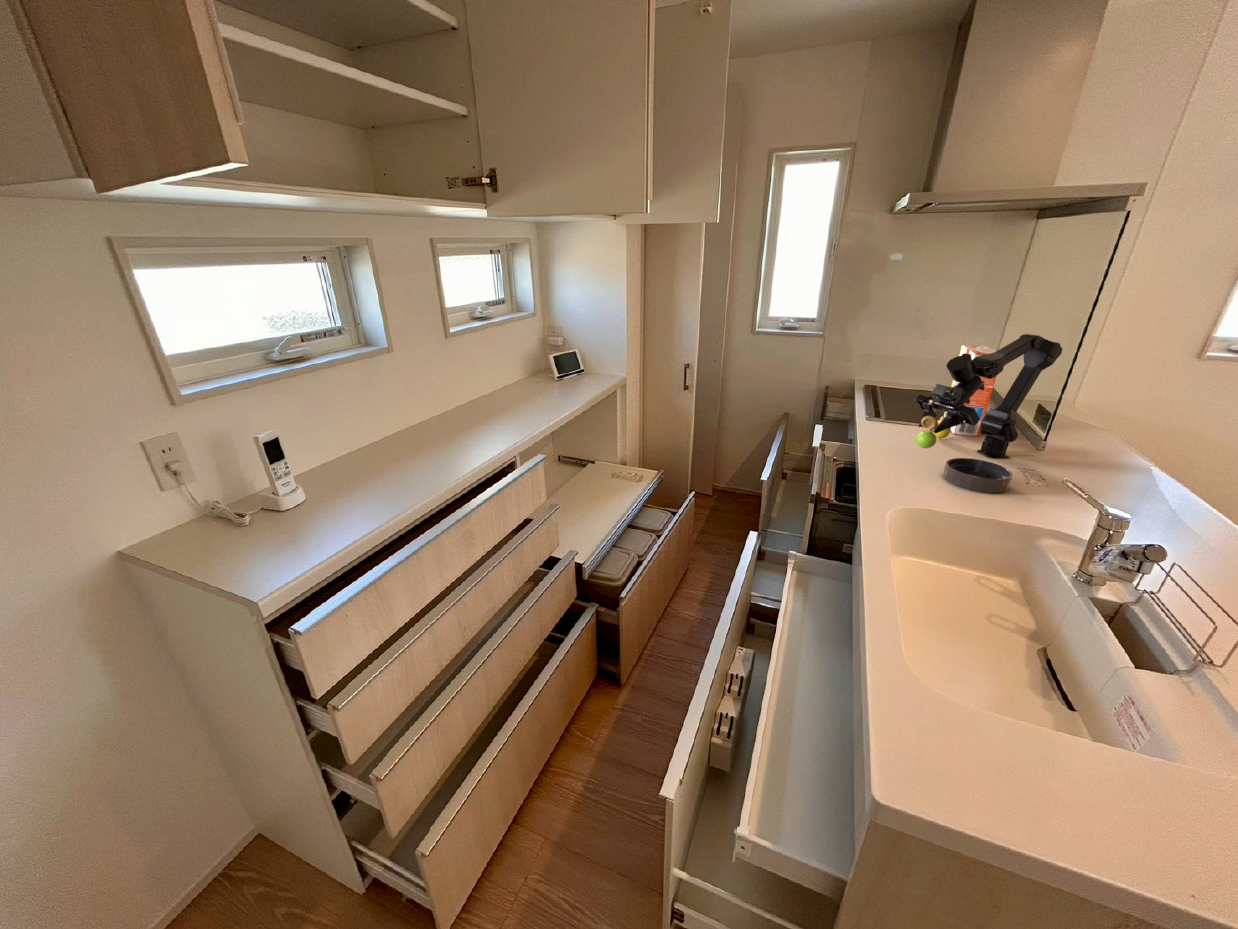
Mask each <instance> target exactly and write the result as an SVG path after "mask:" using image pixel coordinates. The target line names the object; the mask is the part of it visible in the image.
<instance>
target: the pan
mask: <svg viewBox="0 0 1238 929" xmlns="http://www.w3.org/2000/svg"><path fill="white" fill-rule="evenodd" d="M1013 476H1014V475H1013V472H1012V471H1011V470H1010V469H1008V468H1006V467H1004V466H1003V465H1000V464H997V463H995V462H991V461H988V460H982V459H977V458H970V457H969V458H968V457H955V458H949V459H947V460H946V461H945V465H944V469H943V473H942V477H943V479H944V480H945V481H947V482H949V483H950V484H952V485H954V486H957V487H959V488H962V489H964V490H968V491H973V492H978V493H987V494H993V493H994V494H997V493H1003V492H1006V491H1007V490H1009V488H1010V486H1011V483H1012V479H1013Z"/></svg>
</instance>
